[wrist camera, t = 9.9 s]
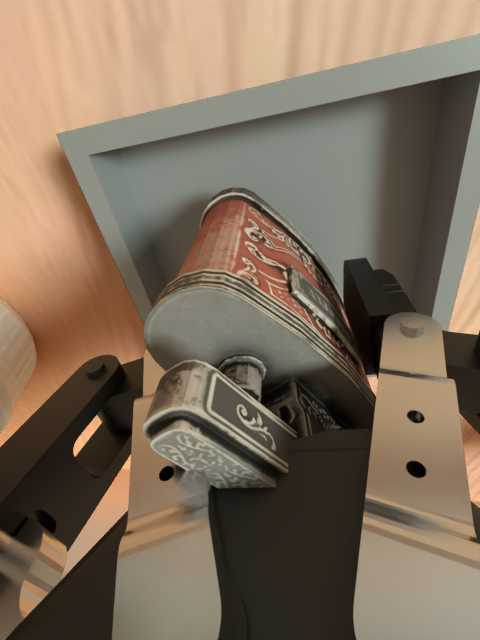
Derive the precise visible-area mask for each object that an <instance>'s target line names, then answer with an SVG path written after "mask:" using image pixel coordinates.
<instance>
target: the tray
mask: <svg viewBox="0 0 480 640" xmlns="http://www.w3.org/2000/svg"><path fill="white" fill-rule="evenodd" d="M56 135H57V137H58V139H59V142H60V144H61V146H62V148H63V150H64V152H65V155H66V157H67V159H68V161H69V163H70V166H71V168H72V170H73V172H74V174H75V176H76V179H77V181H78V183H79V185H80V187H81V189H82V192H83V194H84V196H85V198H86V200H87V203H88V205H89V207H90V209H91V211H92V213H93V216H94V218H95V220H96V222H97V224H98V226H99V229H100V231H101V233H102V235H103V237H104V240H105V242H106V244H107V246H108V248H109V250H110V253H111V255H112V257H113V259H114V261H115V264H116V266H117V268H118V270H119V272H120V274H121V277H122V279H123V281H124V283H125V285H126V287H127V290H128V292H129V294H130V296H131V298H132V301H133V303H134V305H135V307H136V309H137V311H138V314H139V316H140V318H141V320H142V322H143V324H144V327H145V325H146V321H147V317H148V315H149V313H150V311H151V309H152V308H153V306H154V304H155V302H156V300H157V298H158V297H159V295H160V294H161V293H162V291H163V290H164V289H165V287H166V286H167V285H168V284H169V283H170V282H172V281H174V280H175V279H176V278H177V276H178V274H179V272H180V270H181V268H182V266H183V264H184V262H185V260H186V258H187V255H188V253H189V251H190V249H191V247H192V245H193V243H194V241H195V239H196V237H197V235H198V233H199V231H200V229H199V223H200V220H201V217H202V213H203V211H204V210H205V208H206V206H207V205H208V203H209V202H210V200H211V199H212V198H213V197H214V196H215V195H216V194H218V193H219V192H220V191H222V190H224V189H228V188H231V187H245V188H247V189H249V190H251V191H253V192H255V193H256V194H257V195H258V196H260V197H261V198H262V199H263V200H265V201H266V202H267V203H268V204H270V205H271V206H272V207H273V208H275V209H276V210H277V211H278V212H280V213H281V214H282V215H283V216H285V217H286V218H287V219H288V220H289V221H290V222H291V223H292V224H293V226H294V227H295V228H296V229H297V230H298V231H299V232H300V233H301V234H302V235H303V236H304V237H305V238H306V239H307V240H308V241H309V242H310V243H311V244H312V245H313V247H314V248H315V250H316V251H317V253H318V254H319V256H320V257H321V258H322V260H323V261H324V263H325V264H326V266H327V267H328V268H329V270H330V271H331V273H332V275H333V277H334V279H335V281H336V283H337V285H338V287H339V289H340V291H341V293H342V295H343V265H344V260H350V259H358V258H367V260H368V262H369V263H370V265H371V267H372V269H373V270H378V269H384V270H385V271H387V272H389V273H390V274H392V275H394V277H395V278H396V280H397V281H398V283H399V285H400V286H401V288H402V289H403V292H405V294H406V295H407V297H408V298H409V300H410V301H411V303H412V304H413V306H414V308H415V309H416V311H417V312H418V313H421V314H424V315H427V316H430V317H432V318H433V319H435V320H436V321H437V322H438V323H439V324H440V326H441V328H442V330H444V331H448V328H449V324H450V320H451V316H452V312H453V308H454V304H455V300H456V296H457V292H458V288H459V284H460V280H461V276H462V272H463V268H464V264H465V260H466V256H467V252H468V248H469V244H470V240H471V236H472V232H473V228H474V224H475V220H476V216H477V212H478V208H479V204H480V34H478V35H473V36H469V37H465V38H461V39H457V40H452V41H448V42H444V43H440V44H435V45H431V46H427V47H423V48H418V49H414V50H410V51H406V52H401V53H397V54H393V55H389V56H384V57H380V58H376V59H372V60H367V61H363V62H359V63H355V64H350V65H346V66H342V67H338V68H334V69H329V70H325V71H321V72H317V73H312V74H308V75H304V76H300V77H295V78H291V79H287V80H283V81H278V82H274V83H270V84H266V85H261V86H257V87H253V88H249V89H244V90H240V91H236V92H232V93H227V94H223V95H219V96H215V97H211V98H206V99H202V100H198V101H194V102H189V103H185V104H181V105H177V106H172V107H168V108H164V109H160V110H155V111H151V112H147V113H143V114H138V115H134V116H130V117H126V118H121V119H117V120H113V121H109V122H104V123H100V124H96V125H92V126H87V127H83V128H79V129H75V130H71V131H66V132H62V133H58V134H56ZM348 324H349V323H348ZM349 327H350V326H349ZM350 330H351V329H350ZM366 376H367V377H375V376H377V375H366Z"/></svg>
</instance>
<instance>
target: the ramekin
mask: <svg viewBox="0 0 480 640" xmlns="http://www.w3.org/2000/svg"><path fill="white" fill-rule="evenodd" d="M36 358H37V354H36V348H35V343H34V340H33V337H32V334H31V332H30V330H29V329H28V327H27V325H26V324H25V322H24V321H23V319H22V318H21V317H20V316H19V314H18V313H17V312H16V311H15V310H14V309H13V308H12V307H11V306H10V305H9V304H8V303H6V302H5V301H4V300H3V299H2V298H0V433H1V431H2V430H3V429H4V428H5V427H6V425H7V424H8V422H9V421H10V419H11V417H12V414H13V407H14V406H15V404H16V402H17V400H18V399H19V397H20V395H21V393H22V391H23V390H24V388H25V386H26V384H27V382H28V380H29V379H30V377H31V375H32V373H33V371H34V369H35V365H36Z"/></svg>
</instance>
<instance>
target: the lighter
mask: <svg viewBox="0 0 480 640" xmlns="http://www.w3.org/2000/svg"><path fill="white" fill-rule="evenodd" d="M199 229H200V231H199V233H198V235H197V237H196V239H195V241H194V243H193V245H192V247H191V249H190V251H189V253H188V255H187V258H186V260H185V262H184V264H183V266H182V268H181V270H180V272H179V274H178V276H177V278H176V279H175V280H174V281H172V282H170V283H169V284H168V285H167V286H166V287H165V289H164V290H163V291H162V293H161V294H160V295H159V297H158V298H157V300H156V302H155V304H154V306H153V308H152V309H151V311H150V313H149V315H148V317H147V321H146V325H145V329H144V333H143V334H144V339H145V344H146V349H147V350H148V352H149V353H150V354H151V356H152V357H153V359H154V360H155V362H156V363H158V364H159V365H160V366H161V367H162V368H163V369H164V370H165V371H166V373H165V374H164V375H163V376H162V377H161V378H160V381H159V384H158V387H157V389H156V392H155V395H154V397H153V400H152V403H151V405H150V408H149V411H148V413H147V416H146V419H145V421H144V424H143V432H144V434H145V435H146V437H147V438H148V439H150V440H151V443H150V446H151V448H152V449H153V450H154V451H155V452H157V453H158V454H160V455H161V456H163V457H165V458H166V459H168V460H170V461H171V462H173V463H175V464H177V465H178V466H180V467H182V468H184V469H185V470H205V473H206V475H207V477H208V479H209V481H210V483H211V485H213V486H215V487H216V488H262V487H276V473H288V452H289V450H291V442H290V441H292V440H295V439H299V438H302V437H306V436H310V435H313V434H317V433H320V432H324V431H329V430H355V429H370V431H371V434H372V431H373V422H374V413H375V404H376V396H375V395H374V393H373V392H372V390H371V387H370V384H369V381H368V379H367V376H366V375H365V372H364V368H363V365H362V362H361V358H360V355H359V352H358V350H357V347H356V344H355V341H354V338H353V335H352V332H351V330H350V327H349V324H348V320H347V317H346V314H345V309H344V302H343V295H342V293H341V291H340V289H339V287H338V285H337V283H336V281H335V279H334V277H333V275H332V273H331V271H330V270H329V268H328V267H327V266H326V264H325V263H324V261H323V260H322V258H321V257H320V256H319V254H318V253H317V251H316V250H315V248H314V247H313V245H312V244H311V243H310V242H309V241H308V240H307V239H306V238H305V237H304V236H303V235H302V234H301V233H300V232H299V231H298V230H297V229H296V228H295V227H294V226H293V224H292V223H291V222H290V221H289V220H288V219H287V218H286V217H285V216H283V215H282V214H281V213H280V212H278V211H277V210H276V209H275V208H273V207H272V206H271V205H270V204H268V203H267V202H266V201H265V200H263V199H262V198H261V197H260V196H258V195H257V194H256V193H255V192H253V191H251V190H249V189H247V188H245V187H231V188H228V189H224V190H222V191H220V192H219V193H218V194H216V195H215V196H214V197H213V198H212V199H211V200H210V202H209V203H208V205H207V206H206V208H205V210H204V211H203V213H202V217H201V220H200V223H199Z"/></svg>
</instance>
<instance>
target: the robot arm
mask: <svg viewBox="0 0 480 640" xmlns="http://www.w3.org/2000/svg"><path fill="white" fill-rule="evenodd" d="M343 302H344V309H345V314H346V317H347V320H348V323H349V326H350V329H351V332H352V335H353V338H354V341H355V344H356V347H357V350H358V352H359V355H360V358H361V362H362V365H363V368H364V372H365V375H377V378H378V385H377V395H376V404H375V413H374V422H373V431H372V434H371V431H370V429H355V430H329V431H324V432H320V433H317V434H313V435H310V436H306V437H302V438H299V439H295V440H292V441H290V442H291V450H289V452H288V473H276V487H262V488H216V487H215V486H213V485H211V483H210V481H209V479H208V477H207V475H206V473H205V470H185V469H184V468H182V467H180V466H178V465H177V464H175V463H173V462H171V461H170V460H168V459H166V458H165V457H163V456H161V455H160V454H158V453H157V452H155V451H154V450H153V449H152V448H151V446H150V443H151V440H150V439H148V438H147V437H146V435H145V434H144V432H143V424H144V421H145V419H146V416H147V413H148V411H149V408H150V405H151V403H152V400H153V397H154V395H155V392H156V389H157V387H158V384H159V381H160V378H161V377H162V376H163V375H164V374H165V373H166V371H165V370H164V369H163V368H162V367H161V366H160V365H159V364H158V363H156V362H155V360H154V359H153V357H152V356H151V354H150V353H149V352H148V350H147V349H146V350H145V352H144V358H141V359H138V360H135V361H132V362H129V363H126V364H123V365H121V364H120V362H119V360H118V359H117V357H115V356H113V355H102V356H98V357H95V358H93V359H91V360H89V361H88V362H86V363H85V364H83V365H82V366H81V367H80V368H79V369H78V370H77V371H76V372H75V373H74V374H73V375H72V376H71V377H70V378H69V379H68V380H67V381H66V382H65V383H64V384H63V385H62V386H61V387H60V388H59V389H58V390H57V391H56V392H55V393H54V394H53V395H52V396H51V397H50V398H49V399H48V400H47V401H46V402H45V403H44V404H43V405H42V406H41V407H40V408H39V409H38V410H37V411H36V412H35V413H34V414H33V415H32V416H31V417H30V418H29V419H28V420H27V421H26V422H25V423H24V424H23V425H22V426H21V427H20V428H19V429H18V430H17V431H16V432H15V433H14V434H13V435H12V436H11V437H10V438H9V439H8V440H7V441H6V442H5V443H4V444H3V445H2V446H1V447H0V640H480V508H478V507H477V506H476V505H475V504H474V503H472V502H471V501H470V493H469V485H468V478H467V470H466V462H465V454H464V446H463V439H462V431H461V423H460V415H459V413H460V414H461V415H462V416H463V417H464V418H465V419H466V420H467V422H468V423H469V424H470V425H471V426H472V427H473V428H474V429H475V430H476V431H477V432H478V433H479V434H480V331H479V334H478V335H473V334H464V333H455V332H448V331H444V330H442V328H441V326H440V324H439V323H438V322H437V321H436V320H435V319H433V318H432V317H430V316H427V315H424V314H421V313H418V312H417V311H416V309H415V308H414V306H413V304H412V303H411V301H410V300H409V298H408V297H407V295H406V294H405V292H403V289H402V288H401V286H400V285H399V283H398V281H397V280H396V278H395V277H394V275H392V274H390V273H389V272H387V271H385V270H384V269H378V270H373V269H372V267H371V265H370V263H369V262H368V260H367V258H358V259H350V260H344V265H343ZM96 415H97V416H98V417H99V418H100V420H101V421H102V424H101V425H100V426H99V427H98V429H97V430H96V431H95V433H94V434H93V435H92V436H91V438H90V439H89V440H88V442H87V443H86V444H85V445H84V447H83V448H82V449H81V450H80V452H79V453H78V454H77V456H76V457H75V456H74V454H73V447H74V444H75V442H76V440H77V438H78V437H79V436H80V434H81V433H82V432H83V431H84V430H85V428H86V427H87V426H88V425H89V423H90V422H91V421H92V420H93V418H94V417H95V416H96ZM130 454H131V466H130V486H129V504H128V511H127V512H126V513H125V514H124V515H123V516H122V517H121V518H120V519H119V520H118V521H117V522H116V524H114V525H113V527H112V528H111V529H110V530H109V531H108V532H107V533H106V534H105V535H104V536H103V537H102V538H101V539H100V540H99V541H98V542H97V543H96V544H95V545H94V546H93V547H92V549H91V550H90V551H89V552H88V553H87V554H86V555H85V556H84V557H83V558H82V559H81V560H80V561H79V562H78V563H77V564H76V565H75V566H74V567H73V568H72V569H71V570H70V572H69V573H68V574H67V575H66V572H65V571H64V568H65V565H66V560H67V552H68V550H69V549H70V547H71V546H72V544H73V543H74V541H75V539H76V538H77V536H78V535H79V533H80V532H81V530H82V529H83V527H84V526H85V524H86V523H87V521H88V519H89V518H90V516H91V515H92V513H93V512H94V510H95V508H96V507H97V505H98V504H99V502H100V501H101V499H102V498H103V496H104V494H105V493H106V491H107V490H108V488H109V487H110V485H111V484H112V482H113V481H114V479H115V477H116V476H117V474H118V473H119V471H120V470H121V468H122V467H123V465H124V464H125V462H126V460H127V459H128V457H129V456H130Z"/></svg>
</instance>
